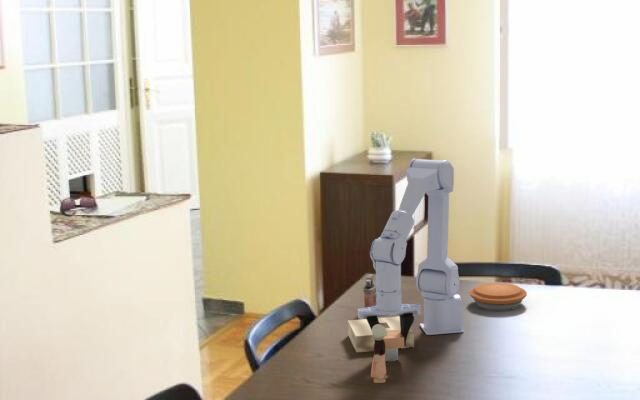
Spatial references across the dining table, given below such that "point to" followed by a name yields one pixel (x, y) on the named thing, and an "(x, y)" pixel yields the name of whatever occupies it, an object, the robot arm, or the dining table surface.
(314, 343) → the dining table surface
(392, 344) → the orange brown block
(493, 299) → the pie
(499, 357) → the dining table surface
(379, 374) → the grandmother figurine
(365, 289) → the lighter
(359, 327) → the holder
